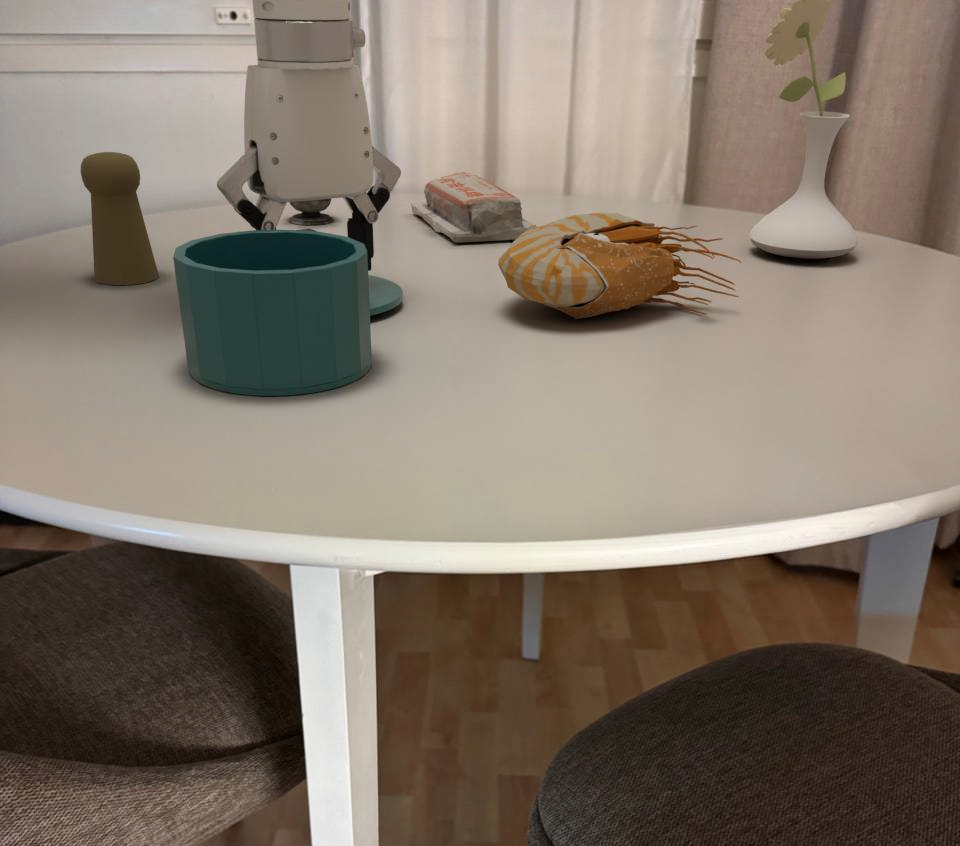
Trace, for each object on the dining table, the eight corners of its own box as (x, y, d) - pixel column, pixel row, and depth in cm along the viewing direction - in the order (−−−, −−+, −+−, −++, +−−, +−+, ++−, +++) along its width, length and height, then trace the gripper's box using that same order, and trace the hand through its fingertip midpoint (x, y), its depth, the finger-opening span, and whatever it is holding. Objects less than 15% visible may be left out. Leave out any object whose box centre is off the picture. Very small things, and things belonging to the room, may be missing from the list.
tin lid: (279, 337, 87) (273, 262, 84) (214, 296, 97) (206, 228, 94) (433, 313, 94) (432, 242, 91) (356, 277, 104) (354, 212, 101)
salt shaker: (304, 227, 123) (296, 112, 116) (276, 219, 127) (267, 107, 120) (346, 221, 126) (340, 109, 120) (318, 213, 130) (311, 104, 123)
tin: (230, 408, 73) (215, 282, 68) (164, 355, 83) (147, 241, 78) (402, 376, 79) (399, 258, 75) (323, 330, 89) (316, 223, 84)
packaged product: (540, 194, 116) (453, 199, 114) (538, 241, 119) (453, 246, 116) (487, 168, 131) (409, 171, 128) (487, 210, 133) (410, 214, 131)
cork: (110, 268, 105) (90, 147, 100) (168, 271, 105) (152, 149, 99) (83, 283, 100) (60, 156, 95) (144, 286, 100) (125, 159, 94)
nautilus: (730, 300, 101) (739, 357, 89) (506, 275, 102) (485, 327, 90) (748, 213, 96) (761, 261, 84) (513, 188, 98) (492, 231, 85)
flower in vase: (815, 240, 121) (861, -16, 108) (876, 263, 112) (934, -14, 99) (714, 247, 118) (748, -18, 104) (769, 271, 109) (813, -15, 95)
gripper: (378, 41, 91) (384, 254, 101) (181, 45, 83) (208, 276, 93) (422, 47, 86) (424, 271, 95) (217, 51, 78) (241, 295, 87)
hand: (318, 272), depth 94 cm, fingers open, 7 cm apart
